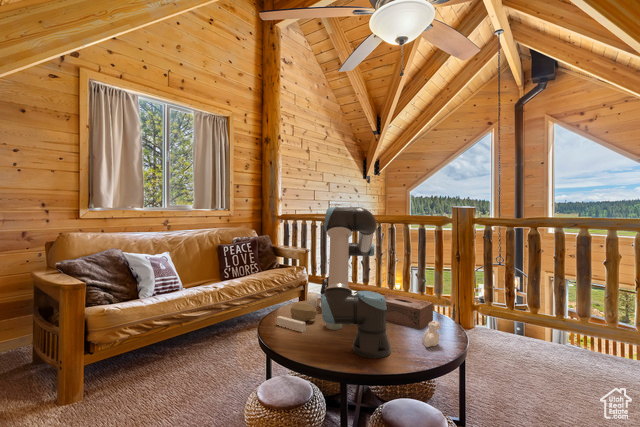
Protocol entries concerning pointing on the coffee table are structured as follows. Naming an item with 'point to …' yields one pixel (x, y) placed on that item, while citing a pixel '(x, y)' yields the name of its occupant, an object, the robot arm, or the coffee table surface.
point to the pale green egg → (333, 326)
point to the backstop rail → (291, 324)
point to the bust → (431, 334)
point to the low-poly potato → (303, 311)
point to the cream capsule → (312, 299)
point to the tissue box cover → (408, 311)
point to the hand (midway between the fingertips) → (321, 306)
